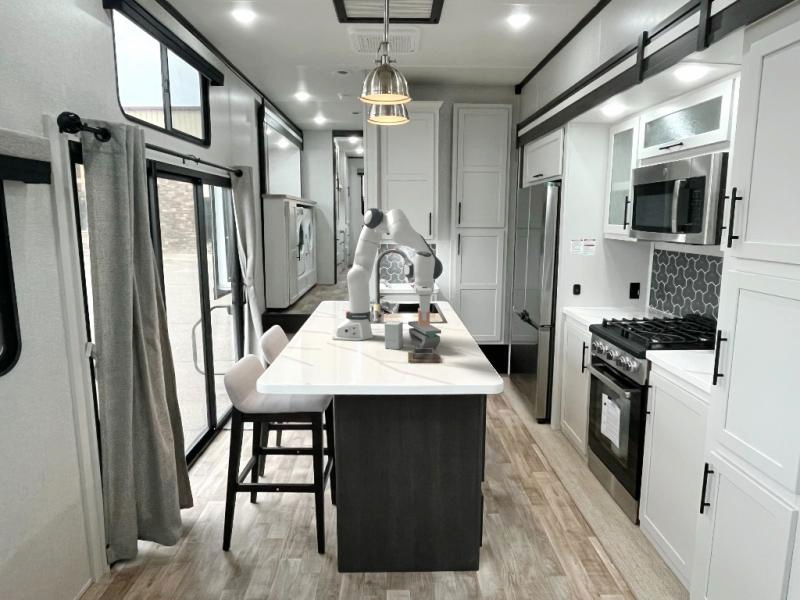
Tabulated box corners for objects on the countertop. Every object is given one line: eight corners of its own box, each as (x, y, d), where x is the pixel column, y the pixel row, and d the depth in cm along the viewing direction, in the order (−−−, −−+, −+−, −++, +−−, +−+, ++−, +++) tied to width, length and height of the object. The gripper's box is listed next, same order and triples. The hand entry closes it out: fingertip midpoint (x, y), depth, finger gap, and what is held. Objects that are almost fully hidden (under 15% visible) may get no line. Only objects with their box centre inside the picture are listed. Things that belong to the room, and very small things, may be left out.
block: (418, 325, 222) (418, 309, 220) (418, 323, 226) (418, 308, 225) (429, 325, 221) (429, 309, 220) (429, 323, 226) (429, 308, 225)
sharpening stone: (440, 352, 238) (441, 330, 236) (425, 353, 235) (425, 331, 233) (422, 340, 261) (422, 320, 259) (408, 342, 259) (408, 321, 257)
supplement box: (403, 346, 249) (403, 321, 248) (398, 349, 243) (398, 324, 241) (389, 345, 252) (389, 320, 250) (384, 348, 245) (384, 323, 243)
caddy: (408, 362, 219) (408, 354, 219) (408, 354, 233) (408, 347, 233) (439, 362, 219) (440, 354, 219) (437, 354, 233) (437, 347, 233)
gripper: (416, 285, 232) (416, 314, 234) (417, 291, 212) (417, 323, 214) (429, 285, 232) (429, 314, 234) (432, 291, 212) (432, 323, 214)
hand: (423, 318), depth 224 cm, fingers closed on block, 5 cm apart
